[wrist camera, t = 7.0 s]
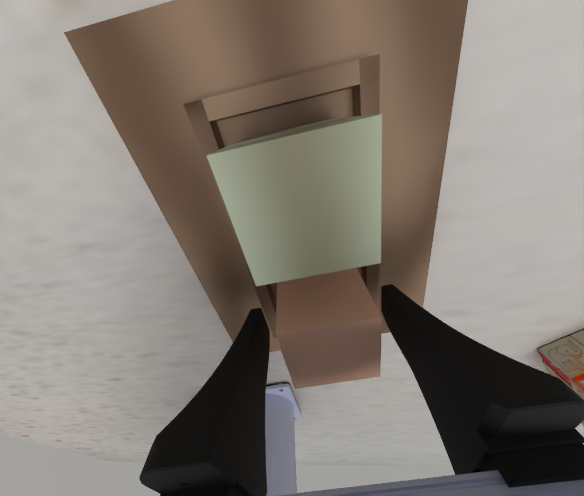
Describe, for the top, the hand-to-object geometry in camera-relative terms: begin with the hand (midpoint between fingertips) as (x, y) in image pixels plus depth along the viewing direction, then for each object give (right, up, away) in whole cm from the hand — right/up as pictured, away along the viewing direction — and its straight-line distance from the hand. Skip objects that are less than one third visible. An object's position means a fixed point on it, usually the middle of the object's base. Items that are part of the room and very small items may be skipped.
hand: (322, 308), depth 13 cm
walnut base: (-1, +5, +2) cm, 5 cm away
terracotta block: (0, +1, +3) cm, 3 cm away
